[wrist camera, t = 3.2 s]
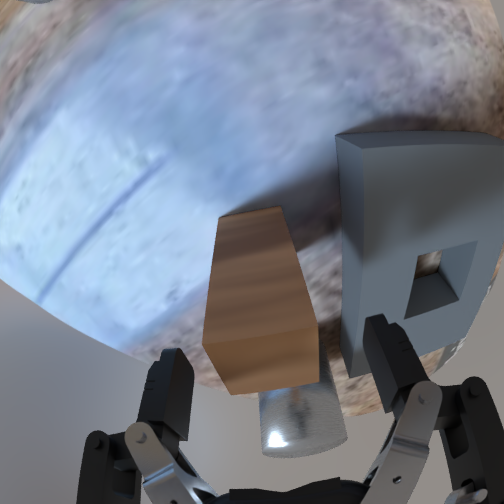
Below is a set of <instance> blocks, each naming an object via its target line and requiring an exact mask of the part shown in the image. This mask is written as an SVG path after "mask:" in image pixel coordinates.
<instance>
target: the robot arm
mask: <svg viewBox="0 0 504 504" xmlns="http://www.w3.org/2000/svg"><path fill="white" fill-rule="evenodd" d="M18 1H24V2H29V3H34V4H42V3H46V2H50V1H52V0H18ZM362 341H363V349H364V352H365V355H366V358H367V361H368V363H369V366H370V369H371V372H372V375H373V378H374V380H375V383H376V386H377V389H378V392H379V395H380V398H381V401H382V404H383V408H384V411H385V413H389V412H391V411H393V414H394V417H395V418H394V421H393V423H392V425H391V428H390V430H389V432H388V435H387V437H386V439H385V441H384V444H383V446H382V448H381V450H380V452H379V454H378V456H377V457H376V459H375V461H374V462H373V464H372V466H371V467H370V469H369V471H368V473H367V475H366V477H365V478H364V480H363V482H362V483H360V482H357V481H352V480H340V477H337V478H332V479H328V480H322V481H317V482H312V483H309V484H307V485H304V486H302V487H299V488H296V489H293V490H290V491H288V492H277V491H269V490H262V489H230V490H229V493H226V494H223V495H221V496H219V495H218V494H217V493H216V492H215V490H214V489H213V488H212V487H211V486H210V485H209V484H208V483H207V482H205V481H204V480H203V479H202V478H201V477H200V476H199V474H198V473H197V472H196V470H195V469H194V468H193V466H192V465H191V464H190V462H189V461H188V460H187V458H186V457H185V455H184V454H183V453H182V451H181V450H180V448H179V441H188V432H189V423H190V413H191V404H192V395H193V387H194V370H193V367H192V365H191V364H190V362H189V361H188V359H187V358H186V356H185V355H184V353H183V351H182V350H181V349H180V348H172V349H164V350H163V351H162V353H161V357H160V361H155V362H154V363H153V365H152V366H151V368H150V369H149V371H148V375H147V379H146V383H145V387H144V392H143V396H142V400H141V404H140V409H139V414H138V418H137V421H136V423H134V424H132V425H131V426H129V427H128V429H127V430H126V431H125V432H121V433H117V434H112V435H107V434H106V433H104V432H103V431H99V430H97V431H93V432H92V433H90V434H89V435H88V437H87V439H86V442H85V447H84V453H83V459H82V464H81V470H80V477H79V485H78V493H77V503H76V504H140V498H141V478H142V475H143V477H144V480H145V481H144V482H143V488H144V490H145V492H146V494H147V495H148V497H149V498H150V500H151V502H152V503H153V504H407V502H408V500H409V498H410V496H411V494H412V492H413V490H414V488H415V486H416V484H417V482H418V479H419V477H420V475H421V472H422V470H423V468H424V465H425V463H426V460H427V457H428V454H429V448H428V445H429V441H430V438H431V435H432V432H433V430H439V432H440V436H441V439H442V443H443V447H444V451H445V455H446V459H447V464H448V468H449V473H450V478H451V483H452V489H453V492H452V493H450V495H449V496H448V497H447V499H446V501H445V503H444V504H504V429H503V426H502V423H501V421H500V418H499V415H498V412H497V409H496V407H495V404H494V402H493V399H492V397H491V394H490V392H489V389H488V387H487V385H486V383H485V382H484V381H483V380H482V379H481V378H479V377H475V376H474V377H469V378H467V379H466V380H465V381H464V382H463V383H462V384H461V385H453V386H439V385H437V384H436V383H434V382H432V381H431V380H430V379H429V378H428V376H427V374H426V372H425V370H424V368H423V366H422V364H421V362H420V360H419V358H418V355H417V353H416V351H415V349H413V345H412V343H411V341H409V338H408V336H407V334H406V332H405V330H404V329H403V328H402V327H401V326H400V325H398V324H397V323H396V322H394V323H391V324H389V323H388V321H387V319H386V317H385V315H384V314H383V313H381V314H377V315H373V316H369V317H366V318H365V325H364V332H363V340H362Z"/></svg>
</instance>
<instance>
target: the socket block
mask: <svg viewBox="0 0 504 504" xmlns="http://www.w3.org/2000/svg"><path fill="white" fill-rule="evenodd" d="M335 140H336V149H337V159H338V170H339V182H340V197H341V217H342V259H343V271H342V312H341V332H340V349H341V353H342V356H343V359H344V362H345V366H346V369H347V372H348V375H349V379H350V378H354V377H357V376H361V375H365V374H368V373H372V372H371V369H370V366H369V363H368V361H367V358H366V355H365V352H364V349H363V341H362V340H363V332H364V325H365V318H366V317H369V316H373V315H377V314H381V313H383V314H384V315H385V317H386V319H387V321H388V323H389V324H391V323H394V322H396V323H397V324H398V325H400V326H401V327H402V328H403V329H404V330H405V332H406V334H407V336H408V338H409V341H411V343H412V345H413V349H415V351H416V353H417V355H418V357H420V356H422V355H425V354H427V353H430V352H432V351H435V350H437V349H440V348H442V347H444V346H447V345H449V344H451V343H454V342H456V341H458V340H460V339H462V338H465V336H466V334H467V333H468V331H469V329H470V327H471V325H472V323H473V321H474V319H475V316H476V314H477V312H478V310H479V308H480V305H481V303H482V301H483V299H484V296H485V294H486V291H487V289H488V286H489V284H490V281H491V278H492V276H493V273H494V270H495V267H496V264H497V261H498V258H499V255H500V252H501V249H502V245H503V242H504V140H502V139H499V138H497V137H494V136H492V135H489V134H487V133H479V132H464V131H433V130H417V131H384V132H368V133H355V134H344V135H335ZM439 250H443V252H442V257H441V261H440V265H439V269H438V273H434V274H431V275H428V276H424V277H421V278H417V279H414V274H415V269H416V264H417V258H418V256H419V255H423V254H427V253H431V252H435V251H439Z"/></svg>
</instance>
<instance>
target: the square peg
mask: <svg viewBox="0 0 504 504" xmlns="http://www.w3.org/2000/svg"><path fill="white" fill-rule="evenodd" d="M202 345H203V347H204V349H205V351H206V353H207V355H208V356H209V358H210V360H211V362H212V364H213V365H214V367H215V369H216V371H217V372H218V374H219V376H220V378H221V379H222V381H223V383H224V384H225V386H226V388H227V389H228V391H229V393H230V394H231V395H238V394H247V393H256V392H263V391H271V390H277V389H284V388H290V387H295V386H301V385H306V384H311V383H316V382H319V339H318V324H317V320H316V317H315V313H314V310H313V306H312V303H311V300H310V296H309V293H308V290H307V286H306V283H305V280H304V277H303V273H302V270H301V267H300V264H299V261H298V257H297V254H296V251H295V248H294V245H293V242H292V239H291V236H290V233H289V230H288V227H287V224H286V221H285V218H284V215H283V212H282V209H281V206H275V207H270V208H265V209H259V210H254V211H249V212H244V213H239V214H234V215H229V216H225V217H220V218H219V219H218V226H217V232H216V239H215V245H214V252H213V259H212V266H211V274H210V281H209V289H208V296H207V304H206V312H205V321H204V329H203V338H202Z"/></svg>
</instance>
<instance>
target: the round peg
mask: <svg viewBox="0 0 504 504" xmlns="http://www.w3.org/2000/svg"><path fill="white" fill-rule="evenodd" d="M258 395H259V411H260V426H261V441H262V453H263V454H264V455H266V456H269V457H274V458H275V457H276V458H294V457H302V456H309V455H314V454H317V453H321V452H325V451H328V450H330V449H333V448H335V447H337V446H339V445H341V444H343V443H344V442H345V441H346V440H347V438H348V437H347V432H346V428H345V424H344V419H343V415H342V411H341V407H340V403H339V399H338V395H337V391H336V387H335V383H334V379H333V375H332V371H331V367H330V364H329V360H328V356H327V352H326V349H325V346H324V343H323V342H322V341H321V340H320V339H319V382H316V383H311V384H306V385H301V386H295V387H290V388H284V389H277V390H271V391H263V392H258Z"/></svg>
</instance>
